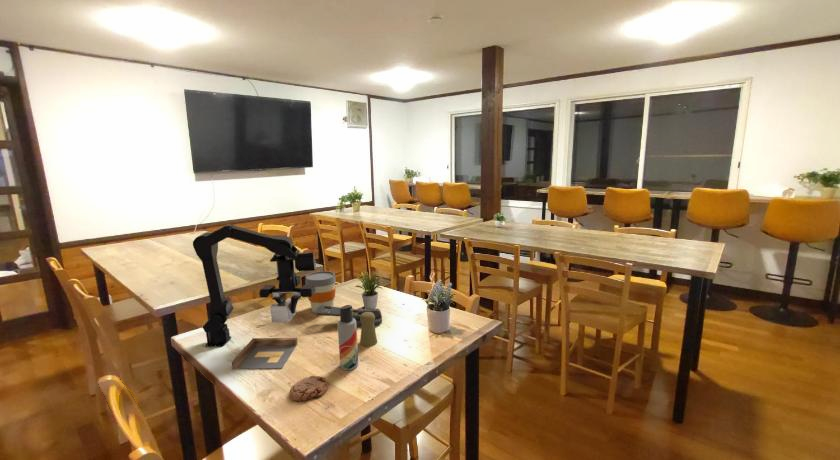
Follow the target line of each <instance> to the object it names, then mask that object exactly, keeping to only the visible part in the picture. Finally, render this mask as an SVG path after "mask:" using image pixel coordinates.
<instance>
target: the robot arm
mask: <svg viewBox="0 0 840 460" xmlns="http://www.w3.org/2000/svg"><path fill="white" fill-rule="evenodd" d="M226 239H233V240H237V241H240V242H241V241H242V242H244V243H248V244H252V245H256V246H259V247H262V248H264V249H267V250H268V251H269V252H271V253H273V256H272V257H271V258H270V260H269V262H270V263H273V262H274V263H275V262H276V271H277V272H276V273H277V276H276V281H278V287H277V286H276V285H275V284H265V285H263V287H261V288H260V289H259V292H258V297H259V298H261V299H262V298H263V299H264V298H269V296H271V294H272V297H271V298H272V299H271V300H274V301H275V302H276V304H283V303H284V302H285V301H286V294H292V296H291V297H290V298H291V306H292V313H293V314H294V313H295V309H296V310H297V304H298V302H299V300H300V299H301V298H308V297H312V296H313V294H314V293H315V292H316V288H315V286H314V285H306V284H303V285H302V287H298V286H299V285H301V276H300V275H297V273H296V272H295V269H296V271H298V272H299V273H300V272H311V271H313V272H316V269H317V265H316V262H317V260H316V258H315V252H314V251H307V252H300V250H299V249H298V248H297V247H296V245H295V244H294V241H293V240H292V238H291V237H289V236H287V235H281V234H279V235H277V234H275V235H274V234H266V233H261V232H258V231H255V230H251V229H247V228H244V227H241V226H237V225H234V224H232V223H227V224H226V225H224V226H223V227H221V228H219V229H217V230H214V231H212V232H211V231H210V232H209V231H206V232H204V233H202V234H200V235H198V236H197V237H195V238H194V240H193V241H192V247H193V250H194V252H195V254H196V256H197V257H198V259H200V261H201V263H202V268H203V272H204V277H205V281H206V286H207V291H208V296H209V300H210V301H209V307H208V308H209V309H208V319H207V321H206V322H205V324H203V326H202V329H203V331H204V332H205V335H206V343H205V344H204V347H223V346H225V345H226V344H227V343H228V342H229V341H230V340H231V339H232V336H230V335H231V333H230V328H229V327H228V324H227V323H226V322H227V321H228V319H229V318H230V316H232V313H233V310H234V309H235V308H234V306H233V301H232V300H233V299H232V298H227V297H226V296H225V292H224V287H223V283H222V279H221V278H222V277H221V273H220V267H219V264H218V263H219V262H218V258H217V257H218V251H219V243H220V242H222V241H224V240H226Z"/></svg>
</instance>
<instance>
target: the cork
mask: <svg viewBox="0 0 840 460" xmlns="http://www.w3.org/2000/svg"><path fill="white" fill-rule="evenodd" d="M360 321H361V323H362V327H360V328H361V329H360V341H359V344H360V346H362V347H365V348H366V347H368V348H370V347H373V346H375V345H377V343H378V338H377V333H376V327H374V321H375V315H374V314H373V313H372V312H364V313H362V314H361V316H360Z"/></svg>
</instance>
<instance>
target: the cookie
mask: <svg viewBox="0 0 840 460" xmlns="http://www.w3.org/2000/svg"><path fill="white" fill-rule="evenodd" d="M328 386H329V384H328V382H327V381H326V377H323V376H318V375H311V376H309V377H304V378H302V379H301V380H298V381H296V383H294V384H293V385H292V386H291V387H290V389H289V398H290V400H292V401H294V402H301V401H302V402H303V401H307V400H308V401H309V400H310V399H312V398H315V397H321V396H323V395H324V394H325V393H326V392H327V390H328Z"/></svg>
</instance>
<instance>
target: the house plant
mask: <svg viewBox="0 0 840 460" xmlns="http://www.w3.org/2000/svg"><path fill="white" fill-rule="evenodd" d="M377 273H378V271H376V272H375V270H373V271H372V274H371V277H370V275H369V272H368V271H366V275H365V274H364V272H362V271H361V276H362V278H360V277H358V276H356V278H357V279H358V281H360V282H361V283H362V284H361V285H359V284H357V285H355V286H354V287H355V288H360V289H363V290H364V291H363V292H362V293H361V298H362V302H363V306H364V309H377V308H378V307H377V306H378V299H379V292H378V291H377V290H379V289H381V290H383V287H381V286H382V285H383V284H382V283H383V281H381V282H379V280H380V279H383V278H385V277H384V276H385V275H386V274H382V275H380V276H378V277H376V276H377Z"/></svg>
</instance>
